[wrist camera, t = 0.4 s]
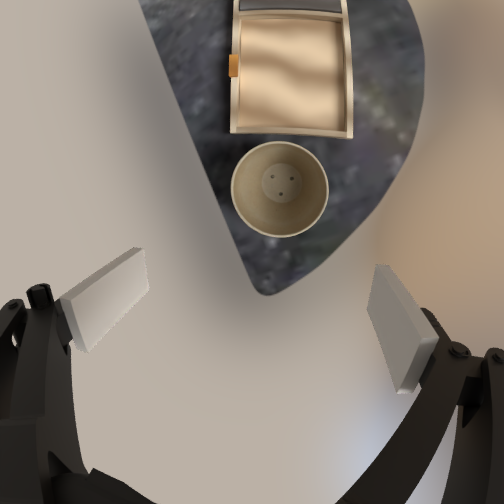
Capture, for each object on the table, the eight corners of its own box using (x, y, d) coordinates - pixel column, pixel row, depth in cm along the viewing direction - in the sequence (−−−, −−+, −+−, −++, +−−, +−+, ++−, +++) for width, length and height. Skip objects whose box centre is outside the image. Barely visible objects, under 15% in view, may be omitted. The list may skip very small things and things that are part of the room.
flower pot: (249, 224, 36) (238, 241, 30) (238, 149, 33) (224, 148, 27) (325, 218, 35) (331, 233, 28) (317, 140, 31) (323, 136, 25)
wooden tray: (236, -3, 25) (232, -12, 22) (342, -1, 23) (345, -10, 20) (233, 134, 33) (227, 132, 30) (349, 139, 31) (353, 138, 28)
